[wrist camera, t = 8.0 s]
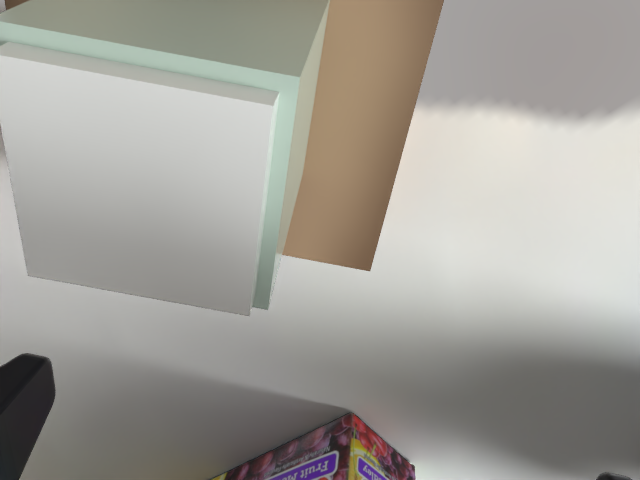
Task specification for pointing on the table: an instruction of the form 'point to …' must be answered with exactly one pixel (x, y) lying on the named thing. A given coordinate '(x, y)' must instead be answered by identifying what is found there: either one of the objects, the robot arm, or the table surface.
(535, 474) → the table surface
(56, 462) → the table surface
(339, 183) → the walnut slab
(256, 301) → the sage box
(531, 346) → the table surface
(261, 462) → the snack box
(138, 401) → the table surface
